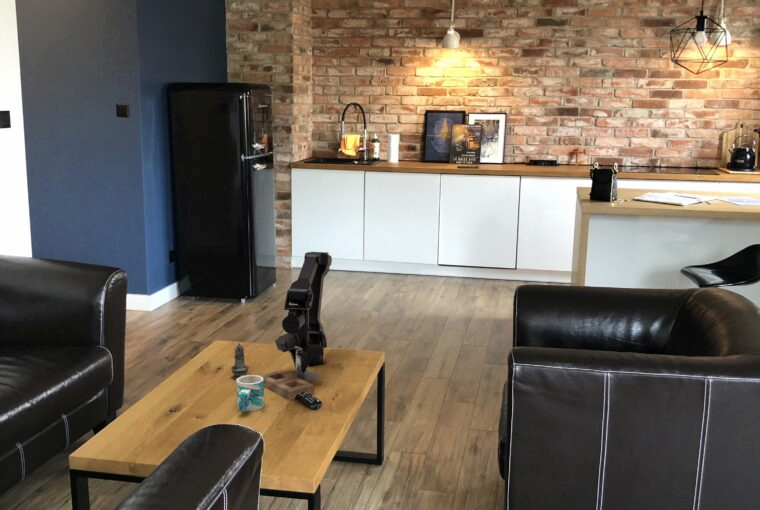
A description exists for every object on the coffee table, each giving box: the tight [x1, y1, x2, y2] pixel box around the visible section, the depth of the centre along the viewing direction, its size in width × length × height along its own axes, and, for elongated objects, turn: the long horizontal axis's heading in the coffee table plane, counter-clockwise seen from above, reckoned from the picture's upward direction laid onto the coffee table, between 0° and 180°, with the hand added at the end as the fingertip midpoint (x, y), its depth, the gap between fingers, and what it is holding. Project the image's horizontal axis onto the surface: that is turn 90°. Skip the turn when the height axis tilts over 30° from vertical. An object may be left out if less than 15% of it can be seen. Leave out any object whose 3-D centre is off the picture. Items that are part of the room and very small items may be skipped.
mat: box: [290, 369, 323, 383], centre depth 267 cm, size 10×10×1 cm
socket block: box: [258, 369, 315, 401], centre depth 255 cm, size 18×9×3 cm, turn 40°
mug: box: [236, 374, 265, 412], centre depth 240 cm, size 8×12×8 cm
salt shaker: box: [230, 342, 250, 381], centre depth 264 cm, size 6×6×12 cm
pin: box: [295, 349, 305, 379], centre depth 264 cm, size 3×3×10 cm
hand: (300, 370), depth 265 cm, fingers closed on pin, 3 cm apart
